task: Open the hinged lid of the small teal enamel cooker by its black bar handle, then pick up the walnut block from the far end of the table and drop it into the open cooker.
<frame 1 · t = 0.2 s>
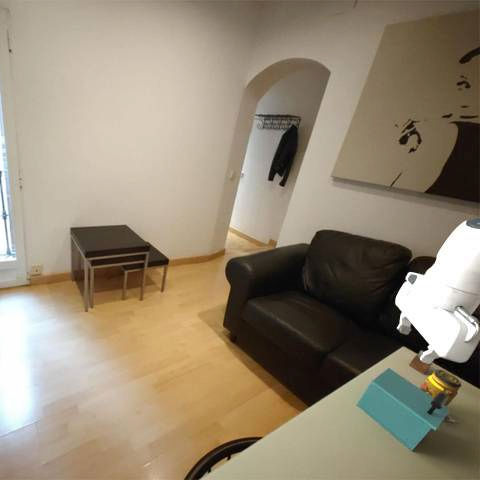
hand: (411, 345, 60), 26 cm above the table, tool pointing down, fingers open, 8 cm apart
cooker lid: (413, 390, 67), point 11 cm above the table, hinge at 0.0°
cooker: (390, 417, 71), on the table
condiment: (428, 407, 76), on the table
block: (417, 367, 91), on the table
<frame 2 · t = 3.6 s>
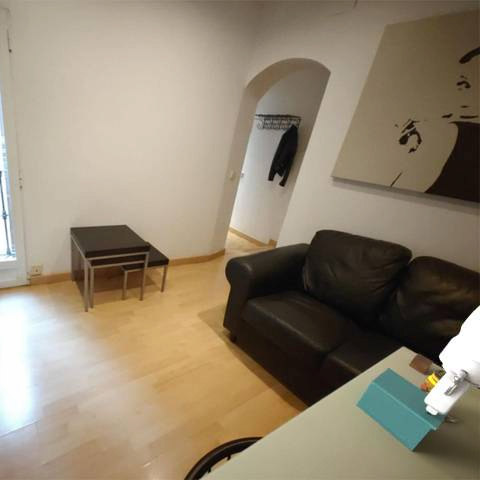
hand: (435, 405, 63), 11 cm above the table, tool pointing down, fingers closed on cooker lid, 5 cm apart
cooker lid: (413, 390, 67), point 11 cm above the table, hinge at 0.0°, touching gripper
everything else where it was.
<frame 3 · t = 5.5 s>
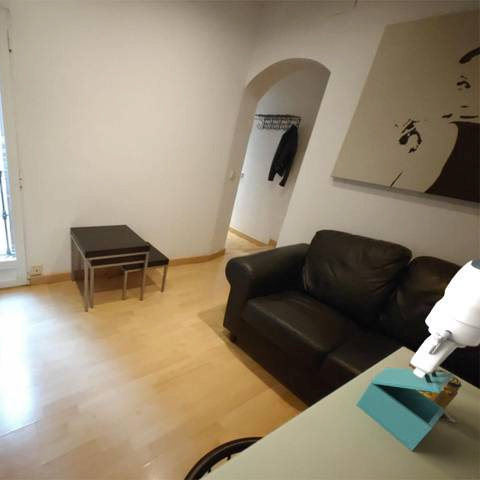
hand: (422, 370, 65), 17 cm above the table, tool pointing down, fingers closed on cooker lid, 5 cm apart
cooker lid: (406, 369, 67), point 15 cm above the table, hinge at 41.4°, touching gripper
everything else where it was.
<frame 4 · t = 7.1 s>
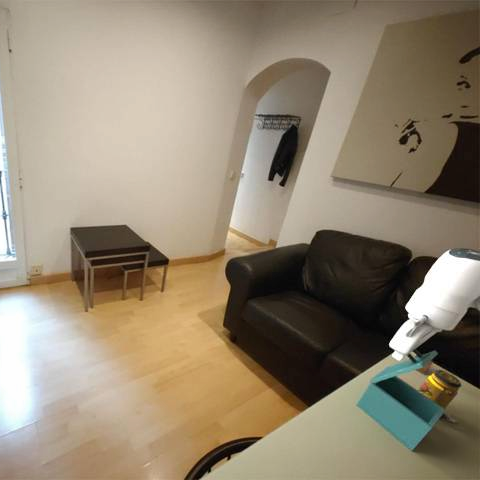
hand: (401, 354, 68), 18 cm above the table, tool pointing down, fingers closed on cooker lid, 5 cm apart
cooker lid: (396, 359, 69), point 16 cm above the table, hinge at 65.0°, touching gripper
everything else where it was.
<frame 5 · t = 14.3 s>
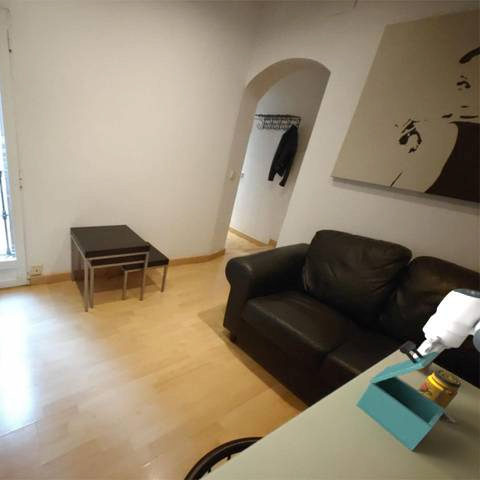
hand: (420, 364, 90), 2 cm above the table, tool pointing down, fingers closed on block, 4 cm apart
cooker lid: (396, 359, 69), point 16 cm above the table, hinge at 64.5°
block: (417, 367, 91), on the table, touching gripper
everything else where it was.
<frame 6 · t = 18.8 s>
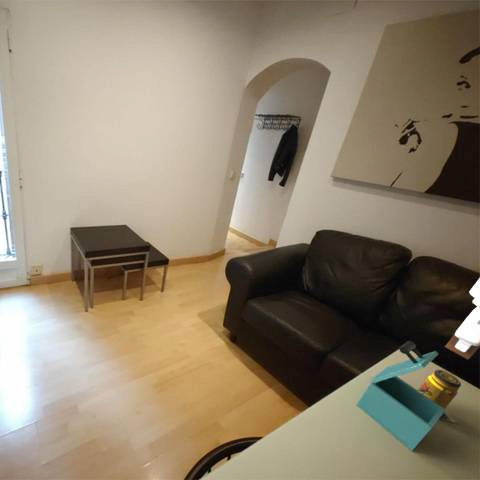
hand: (463, 345, 61), 27 cm above the table, tool pointing down, fingers closed on block, 4 cm apart
block: (458, 350, 62), point 25 cm above the table, touching gripper
everything else where it was.
when the fingers open (9 cm above the table, at t = 23.5 s): block drops 7 cm, resting on cooker.
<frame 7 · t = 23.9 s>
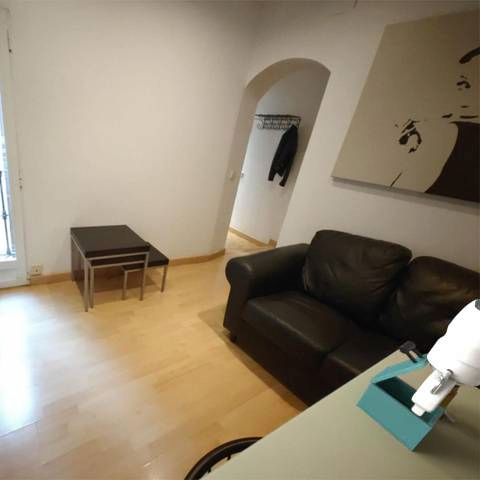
hand: (423, 404, 65), 10 cm above the table, tool pointing down, fingers open, 8 cm apart
block: (404, 425, 69), point 1 cm above the table, touching cooker
everything else where it was.
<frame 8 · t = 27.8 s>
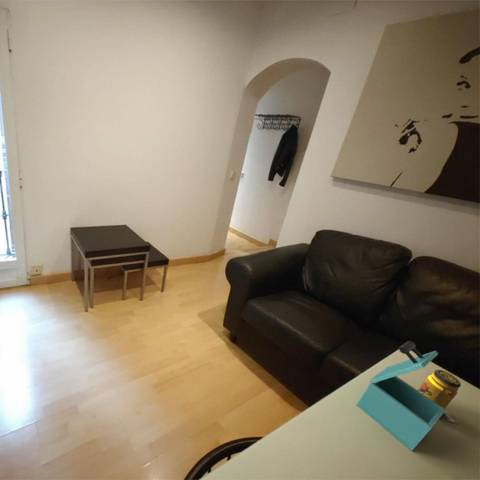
nothing on the table moved.
at the end: cooker lid at +65° (first picture: +0°); block inside the target area in the cooker (2.8 cm from its centre), point 0.8 cm above the cooker's base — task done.
